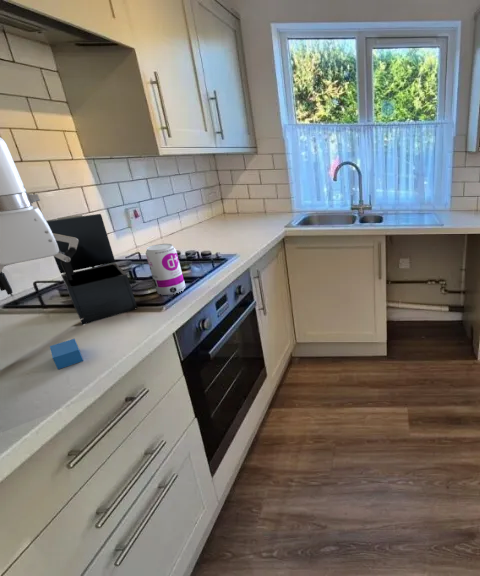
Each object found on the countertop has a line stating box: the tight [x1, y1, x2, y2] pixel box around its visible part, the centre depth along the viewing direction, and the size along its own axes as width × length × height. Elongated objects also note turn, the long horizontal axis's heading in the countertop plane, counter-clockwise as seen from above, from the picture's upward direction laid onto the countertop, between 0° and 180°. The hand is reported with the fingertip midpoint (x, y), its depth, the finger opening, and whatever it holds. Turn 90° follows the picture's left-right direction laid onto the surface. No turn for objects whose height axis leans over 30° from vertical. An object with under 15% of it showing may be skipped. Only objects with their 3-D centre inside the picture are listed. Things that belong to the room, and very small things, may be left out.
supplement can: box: [145, 243, 186, 296], centre depth 114 cm, size 8×8×15 cm
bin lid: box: [46, 213, 116, 274], centre depth 104 cm, size 15×13×5 cm
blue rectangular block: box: [49, 338, 84, 370], centre depth 82 cm, size 7×4×3 cm, turn 45°
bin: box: [61, 262, 139, 326], centre depth 104 cm, size 15×13×11 cm
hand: (41, 285), depth 76 cm, fingers open, 9 cm apart
